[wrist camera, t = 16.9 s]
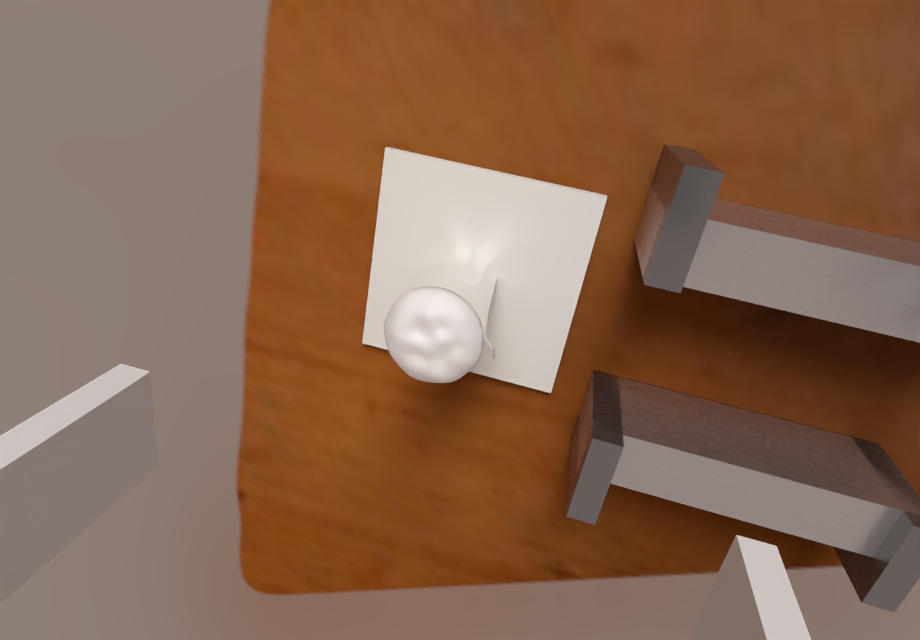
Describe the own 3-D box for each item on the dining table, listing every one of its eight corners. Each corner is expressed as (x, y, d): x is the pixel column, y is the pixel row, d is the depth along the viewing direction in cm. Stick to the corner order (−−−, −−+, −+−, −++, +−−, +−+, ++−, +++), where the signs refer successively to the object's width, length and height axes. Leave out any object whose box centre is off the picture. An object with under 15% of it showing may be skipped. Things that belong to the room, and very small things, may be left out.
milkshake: (526, 313, 33) (499, 404, 24) (435, 316, 34) (378, 403, 25) (519, 236, 31) (488, 301, 22) (425, 242, 32) (359, 306, 23)
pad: (607, 195, 30) (607, 197, 29) (551, 390, 35) (551, 393, 34) (387, 147, 31) (385, 148, 31) (364, 340, 36) (362, 343, 36)
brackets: (1016, 217, 26) (1149, 262, 20) (838, 512, 34) (894, 612, 28) (665, 144, 28) (684, 164, 22) (571, 438, 36) (566, 516, 30)
